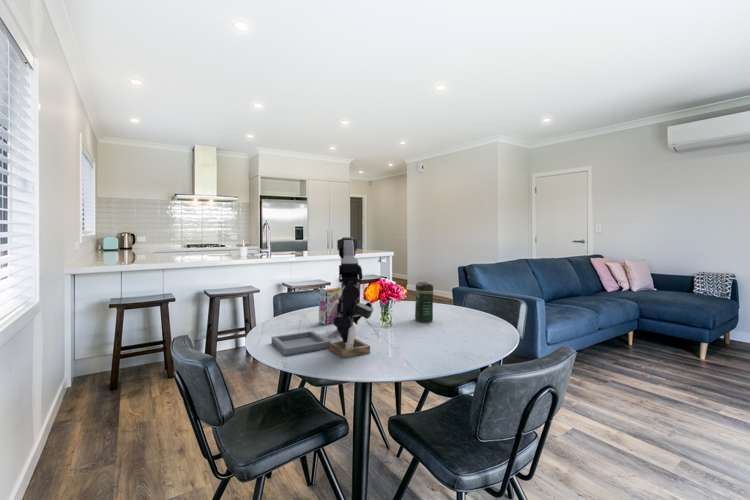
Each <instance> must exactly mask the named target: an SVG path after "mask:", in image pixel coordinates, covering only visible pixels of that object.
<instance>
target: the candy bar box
mask: <svg viewBox="0 0 750 500" xmlns="http://www.w3.org/2000/svg"><path fill="white" fill-rule="evenodd" d="M318 291H319V293H318V294H319V295H318V296H319V298H318V299H319V302H318V305H319V306H318V324H321V325H324V326H327V325H330V324H333V319H334V318H335V317H336V316H337V303H339V297H340V296H341V294H342V286H330V287H322V288H319V290H318ZM338 314H340V313H338Z"/></svg>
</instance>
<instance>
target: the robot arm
mask: <svg viewBox="0 0 750 500" xmlns="http://www.w3.org/2000/svg"><path fill="white" fill-rule="evenodd" d="M336 242H337V244H336V247H337V248H336V250H337V251H338V255H339V257H340V264H339V265H338V279H339V280H338V281H339V283H341V287H342V294H341V296H340V297H339V303H337V316H336V317H335V318H334V319H333V323H332V324H333V326H335V327H336V330H337V331H338V333H339V336H340V338H341V339H342V340H343V341H344V343H347V340H348V334H349V328H350V327H351V326H352V325H353V322H354V323H355V324H356V325H357V326H358V322H359V320H361V318H364V319H366V320H369V319H370V318H371V317H372V314H373V312H374V307H373V304H372V302H369V301H367V302H366V303H361V301H360V299H359V297H360V290H359V288H358V283H362V280H363V268H362V265H360V264H359V259H358V258H356V257H355V256H356V253H357V251H358V250H359V249H358V240H357V239H355V237H353V236H347V237H346V236H344V237H342V238H340V239H337V241H336ZM338 313H340V314H338Z"/></svg>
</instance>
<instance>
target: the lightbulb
mask: <svg viewBox="0 0 750 500" xmlns="http://www.w3.org/2000/svg"><path fill="white" fill-rule="evenodd" d="M358 331H359V329H358V324H357V325H356V324H355V323H354V322H353V325H352V326H351V327H350V328H349V334H348V340H347V343H345V344H346V348H345V349H350V348H354V346H353V344H354V338H356V336H357V334H358Z"/></svg>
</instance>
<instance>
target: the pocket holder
mask: <svg viewBox="0 0 750 500" xmlns="http://www.w3.org/2000/svg"><path fill="white" fill-rule="evenodd" d="M328 349H329V350H330V351H331V352H332V353H334V354H336V355H337V356H339V357H340V358H341V359H345V358H349V357H350V358H351V357H355V356H360V355H366V354H370V353H371V346H370V345H369V344H367V343H365V342H363V341H361V340H360V339H357V338H356V337H355V338H354V344H353V348H350V349H346V344H345V343H344V341H343V339H342V340H337V341H330V343H329V348H328Z"/></svg>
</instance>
